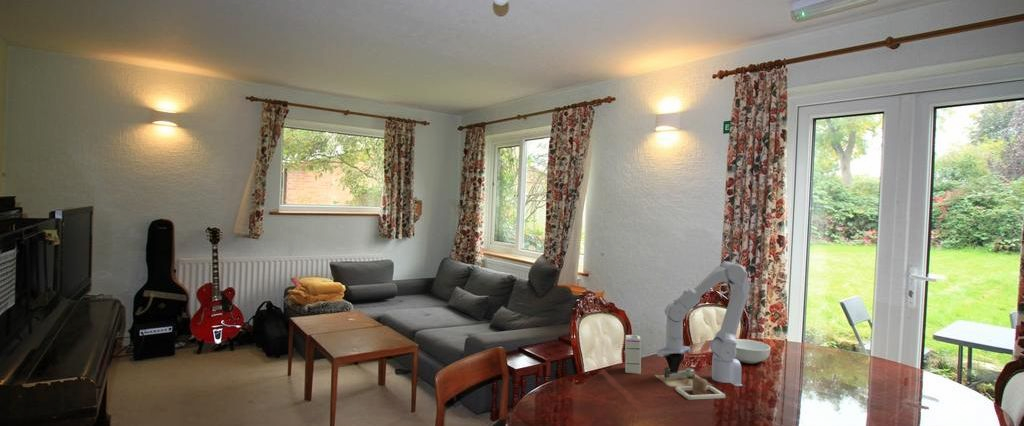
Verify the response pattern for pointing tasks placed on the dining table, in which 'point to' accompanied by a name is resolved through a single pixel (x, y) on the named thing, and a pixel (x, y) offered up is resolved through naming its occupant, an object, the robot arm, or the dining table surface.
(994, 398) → the dining table surface
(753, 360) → the cereal bowl
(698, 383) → the cylinder
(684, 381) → the crank board
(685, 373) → the crank lever
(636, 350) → the syrup box
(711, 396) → the tray
